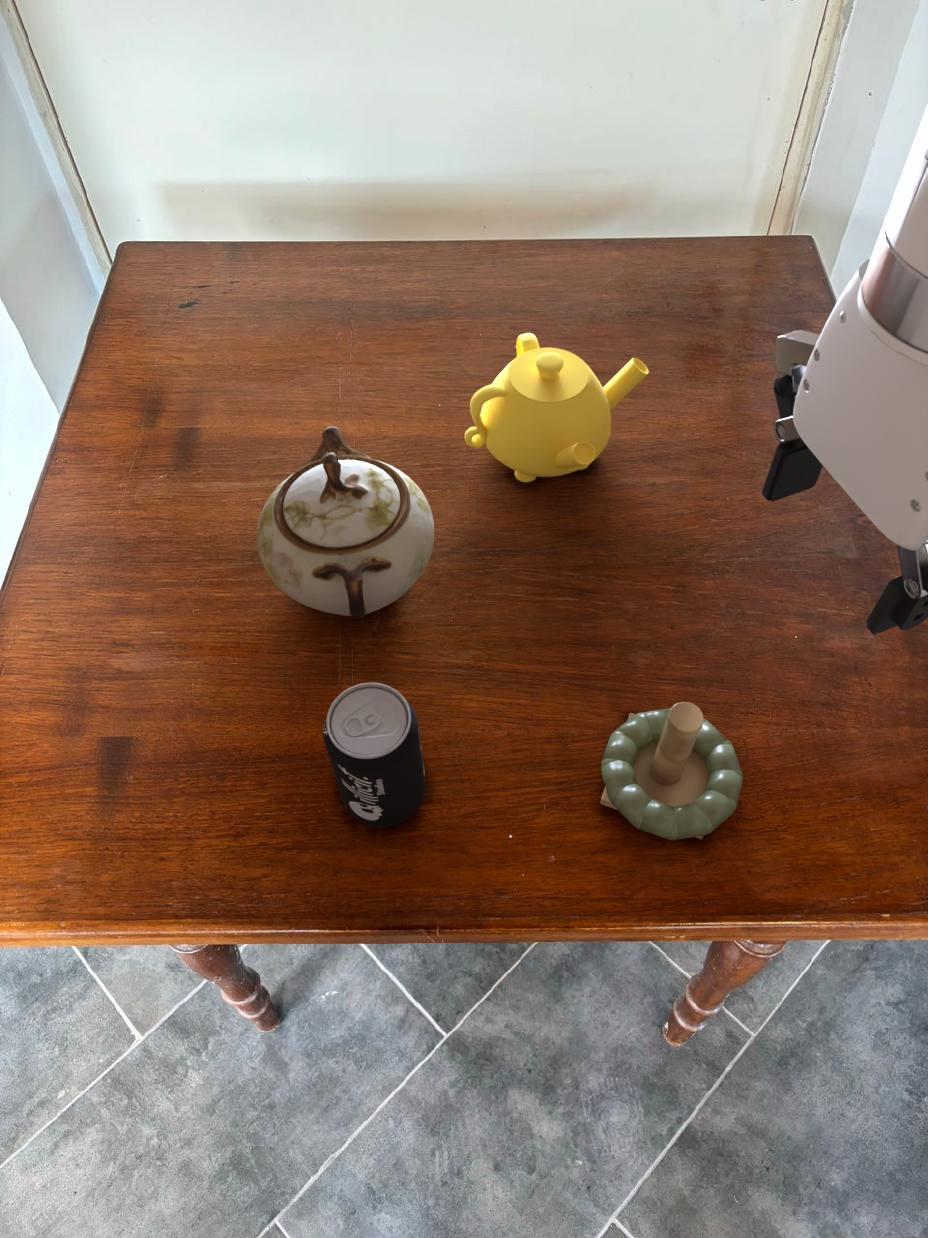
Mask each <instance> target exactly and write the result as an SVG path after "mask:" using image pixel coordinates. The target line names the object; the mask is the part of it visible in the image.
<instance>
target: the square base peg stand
mask: <svg viewBox="0 0 928 1238" xmlns="http://www.w3.org/2000/svg"><path fill="white" fill-rule="evenodd" d="M634 715H636V714H635V713H632V712H630V713H629V714H628V718H627V720H626V722H627V721H628V720H629V719H630V718H632V717H633V716H634ZM704 719H705V718H704V714H703V712H702V710H701V709H700V708H699V706H697V705H695V704H694V703H691V702H688V701H681V702H677V703H675V704H674V705H672V706H671V709H670V711H669V714H668V717H667V720H666V723H665V726H664V729H663V732H662V735H661V738H660V741H656V742H651V743H649V744H648V745H647V746H646V747H644V748H643V749H642V750H641V751H639V752H638V754H637V757H636V761H635V764H634V767H633V769H634V772H635V776H636V779H637V783H638V785H639V786H640V787H641V788H642V789H643V790H644V791H645V792H646V793H647V794H648V795H649V796H650V797H651V798H652V799H653V800H656V801H659V802H662V803H664V804H667V805H670V806H679V805H685V804H691V803H694V802H695V801H696V800H697V799H698V798H699V797H701V796H702V795H703V794H704V793H705V792H706V788H707V785H708V781H709V777H710V776H709V773H708V770H707V767H706V764H705V761H704V759H703V758H702V757H701V756H700V755H699V754H697V753H696V752H695V751H694V750H693V746H694V744H695V741H696V739H697V736H698V734H699V732H700V729H701V727H702V724H703V720H704ZM599 803H600V805H601V806H605V807H608V808H611V809H614V810H616V811H618V810H617V809H616V807H615V806H614V805H613V804H612V803H611V802H610V800H609V798H608V795H607V791H606V787H605V786H604V789H603V792H602V795H601V799H600V802H599ZM704 837H705V835H703V836H697V837H695V838H697V839H699V840H703V839H704Z"/></svg>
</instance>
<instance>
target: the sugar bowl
mask: <svg viewBox="0 0 928 1238" xmlns="http://www.w3.org/2000/svg"><path fill="white" fill-rule="evenodd" d="M340 432H341V431H340V429H339V427H337V426H334V425H330V426H327V427H326V428H324V429H323V431H322V433H321V443H320V445H319V447H318V449H317V450H316V452H315V453H314V454H313V455H312V456H311V457H310V458H309V459H307V460H306V461H304V462H303V463H302V464H301V466H300V467H299V469H298V470H297V471H295V472H294V473H292V474H291V475H289V476H288V477H287V478H286V479H284V480H283V481H282V482H280V484H279V485H278V486H276V488H275V489H274V491H272V493H271V494H270V495H269V496H268V498H267V500H266V502H265V503H264V506H263V508H262V510H261V513H260V516H259V519H258V523H257V530H256V545H257V550H258V551H257V552H258V555H259V556H258V557H259V559H260V562H261V565H262V567H263V569H264V571H265V572H266V574H267V576H268V577H269V578H270V580H271V581H272V583H273V584H274V585H275V586H276V587H277V588H278V589H279V590H280V592H282V593H283V594H284V595H285V596H287V597H289V598H290V599H292V600H294V601H296V602H297V603H299V604H301V605H303V606H305V607H309V608H312V609H314V610H317V611H320V612H323V613H328V614H333V615H339V616H345V617H353V618H354V619H360V618H364V617H365V616H366V615H369V614H371V613H373V612H375V611H376V612H377V611H378V610H380V609H382V608H384V607H385V608H386V607H387V606H389V605H391V604H392V603H394V602H395V601H397V600H399V599H400V598H402V597H403V596H404V595H405V594H406V593H407V592H408V591H409V590H410V589H411V588H412V587H413V586H414V585H415V584H416V583H417V582H418V580H419V579H420V577H421V576H422V575H423V573H424V572H425V570H426V568H427V566H428V564H429V562H430V559H431V556H432V553H433V549H434V545H435V521H434V515H433V511H432V508H431V506H430V503H429V501H428V499H427V497H426V495H425V494H424V492H423V491H422V490H421V488H420V487H419V486H418V484H416V482H415V481H414V480H412V479H411V478H410V476H408V475H407V474H406V473H404V472H402V470H400V469H398V468H396V467H395V466H393V465H391V464H388V463H386V462H383V461H381V460H377V459H374V458H370V456H369V455H368V454H366V453H364V452H361V451H358V450H355V449H353V448H352V447H350V446H349V445H348V443H346V442H345V441H344V439H343V438H342V436H341V433H340Z"/></svg>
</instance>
